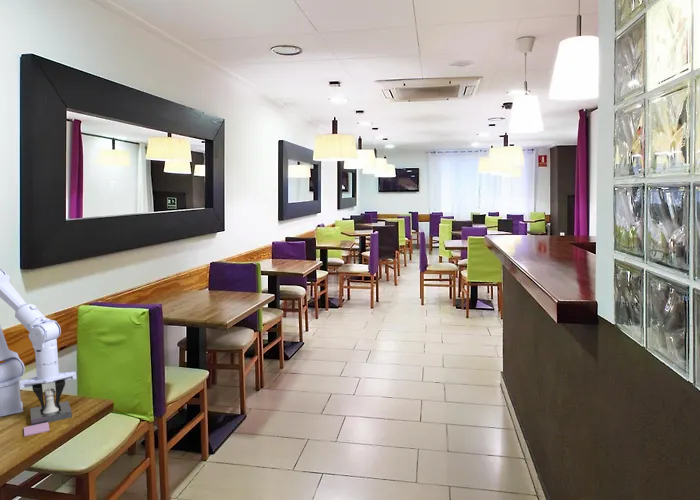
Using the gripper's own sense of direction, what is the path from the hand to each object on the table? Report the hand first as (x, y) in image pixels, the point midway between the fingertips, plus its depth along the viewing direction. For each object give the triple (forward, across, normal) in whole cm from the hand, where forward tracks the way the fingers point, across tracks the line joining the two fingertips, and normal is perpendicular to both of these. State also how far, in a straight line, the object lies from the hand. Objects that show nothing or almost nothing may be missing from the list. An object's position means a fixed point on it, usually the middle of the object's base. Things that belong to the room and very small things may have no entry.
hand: (50, 406), depth 153 cm
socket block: (+3, 0, 0) cm, 3 cm away
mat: (+3, -4, -9) cm, 10 cm away
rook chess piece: (+3, 0, 0) cm, 3 cm away
